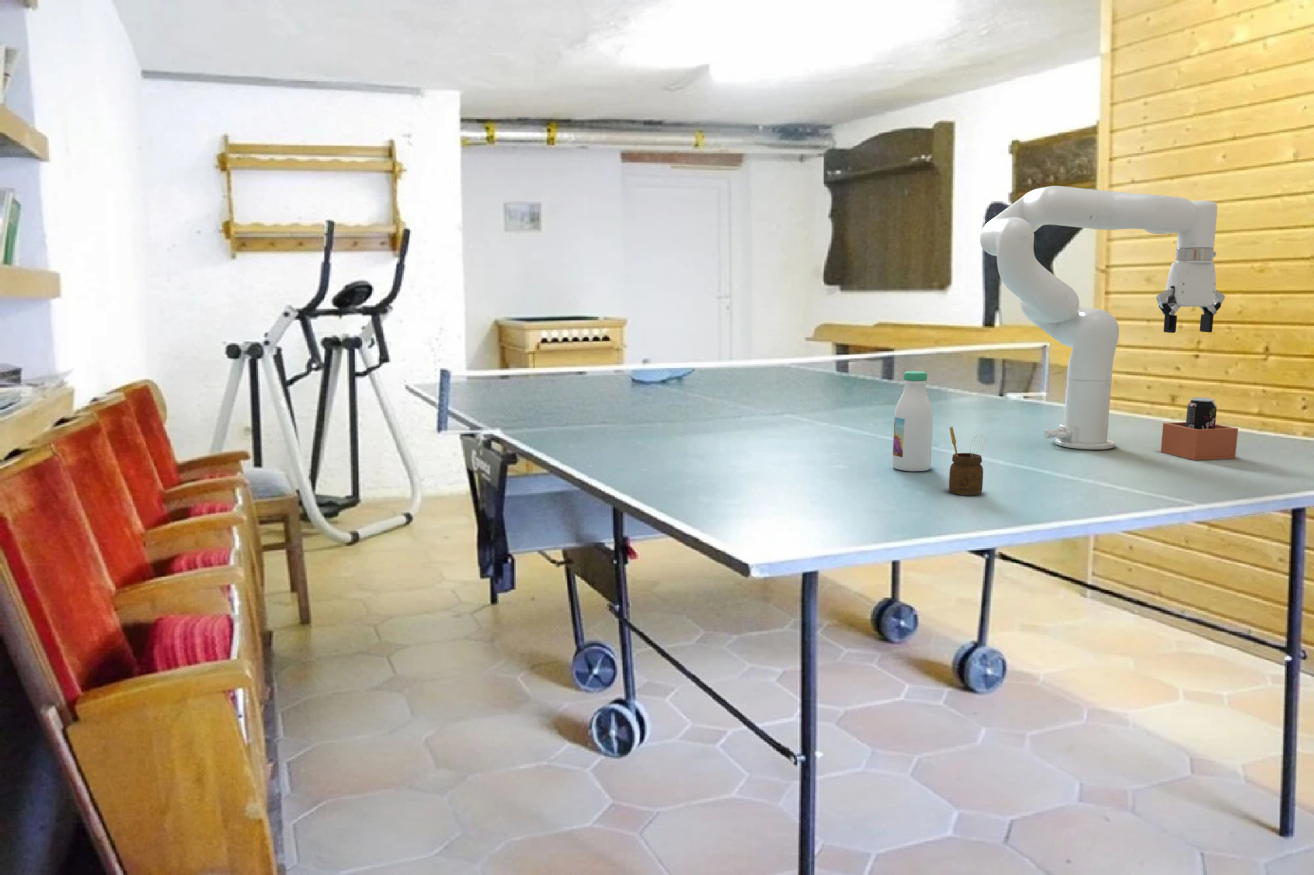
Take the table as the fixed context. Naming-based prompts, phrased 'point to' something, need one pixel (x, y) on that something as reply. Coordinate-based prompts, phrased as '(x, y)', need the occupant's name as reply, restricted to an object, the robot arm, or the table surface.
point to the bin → (1199, 441)
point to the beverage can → (1201, 413)
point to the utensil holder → (965, 471)
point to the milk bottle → (913, 425)
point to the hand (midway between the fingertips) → (1187, 332)
